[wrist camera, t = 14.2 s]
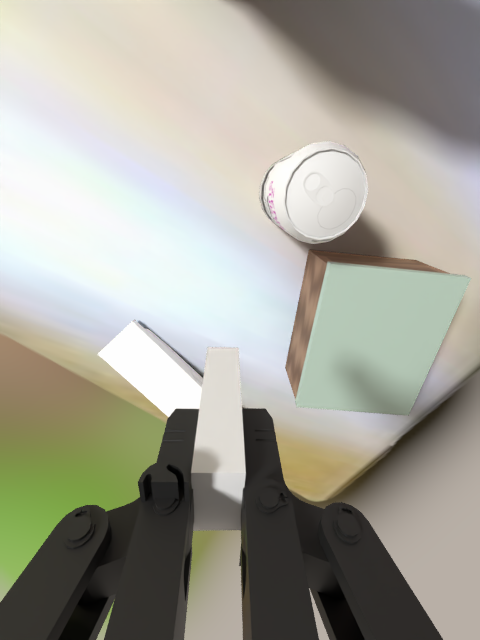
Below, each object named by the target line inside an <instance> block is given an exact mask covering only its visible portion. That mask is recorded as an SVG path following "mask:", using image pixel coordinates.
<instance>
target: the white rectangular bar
mask: <svg viewBox="0 0 480 640" xmlns="http://www.w3.org/2000/svg"><path fill="white" fill-rule="evenodd" d="M98 355H99V356H100V357H102V358H103V359H104V360H105V361H106V362H107V363H108V364H109V365H111V366H112V367H113V368H114V369H115V370H116V371H117V372H118V373H120V374H121V375H122V376H123V377H124V378H125V379H126V380H127V381H129V382H130V383H131V384H132V385H133V386H134V387H135V388H136V389H138V390H139V391H140V392H141V393H142V394H143V395H144V396H145V397H147V398H148V399H149V400H150V401H151V402H152V403H153V404H154V405H156V406H157V407H158V408H159V409H160V410H161V411H162V412H163V413H165V414H166V415H167V416H168V417H169V416H170V415H171V414H172V413H173V411H174V410H175V409H199V407H200V400H201V392H202V384H203V378H202V377H201V376H200V375H199V374H198V373H197V372H196V371H195V370H193V369H192V368H191V367H190V366H189V365H188V364H187V363H186V362H185V361H184V360H183V359H182V358H181V357H180V356H179V355H178V354H177V353H176V352H174V351H173V350H172V349H171V348H170V347H169V346H168V345H167V344H166V343H164V342H163V341H162V340H161V339H160V338H158V337H157V336H156V335H155V334H154V333H153V332H151V331H150V330H149V329H145V328H143V327H142V326H141V325H140V324H139V323H138V322H137V321H136V320H133V321H132V322H131V323H130V324H129V325H128V326H127V327H126V328H125V329H124V330H123V331H122V332H121V333H120V334H118V335H117V336H116V337H115V338H114V339H113V340H112V341H111V342H110V343H109V344H108V345H107V346H106V347H105V348H104V349H103V350H102V351H101V352H99V353H98Z"/></svg>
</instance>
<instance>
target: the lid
mask: <svg viewBox="0 0 480 640" xmlns="http://www.w3.org/2000/svg"><path fill="white" fill-rule="evenodd" d="M470 280H471V278H470V277H467V276H465V275H457V274H447V273H437V272H428V271H418V270H408V269H398V268H388V267H378V266H369V265H359V264H349V263H339V262H329V261H328V262H327V267H326V271H325V275H324V279H323V284H322V288H321V292H320V297H319V301H318V305H317V310H316V314H315V318H314V323H313V327H312V331H311V335H310V340H309V344H308V348H307V353H306V357H305V361H304V366H303V370H302V374H301V379H300V383H299V387H298V391H297V396H296V400H295V402H296V406H297V407H303V408H316V409H329V410H342V411H355V412H368V413H382V414H395V415H408V416H409V414H410V411H411V409H412V407H413V405H414V403H415V400H416V398H417V396H418V394H419V392H420V389H421V387H422V385H423V383H424V381H425V378H426V376H427V374H428V372H429V370H430V367H431V365H432V363H433V361H434V359H435V356H436V354H437V352H438V350H439V348H440V346H441V343H442V341H443V339H444V337H445V335H446V332H447V330H448V328H449V326H450V324H451V321H452V319H453V317H454V315H455V313H456V310H457V308H458V306H459V304H460V302H461V299H462V297H463V295H464V293H465V291H466V288H467V286H468V284H469V282H470Z"/></svg>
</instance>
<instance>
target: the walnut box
mask: <svg viewBox="0 0 480 640" xmlns="http://www.w3.org/2000/svg"><path fill="white" fill-rule="evenodd" d="M328 261H329V262H339V263H349V264H359V265H369V266H378V267H388V268H398V269H408V270H418V271H428V272H437V273H447V272H445V271H442V270H440V269H437V268H434V267H432V266H429V265H427V264H424V263H422V262H419V261H417V260H409V259H398V258H388V257H378V256H367V255H357V254H347V253H336V252H326V251H316V250H309V252H308V257H307V262H306V267H305V272H304V277H303V282H302V287H301V292H300V297H299V302H298V307H297V312H296V317H295V322H294V327H293V332H292V337H291V342H290V347H289V352H288V357H287V362H286V367H285V368H286V371H287V374H288V378H289V381H290V384H291V387H292V390H293V393H294V396H295V399H296V396H297V391H298V387H299V383H300V379H301V374H302V370H303V366H304V361H305V357H306V353H307V348H308V344H309V340H310V335H311V331H312V327H313V323H314V318H315V314H316V310H317V305H318V301H319V297H320V292H321V288H322V284H323V279H324V275H325V271H326V267H327V262H328ZM447 274H450V273H447Z"/></svg>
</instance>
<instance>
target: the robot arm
mask: <svg viewBox="0 0 480 640" xmlns="http://www.w3.org/2000/svg"><path fill="white" fill-rule="evenodd" d="M138 486H139V491H140V498H138V499H137V500H135V501H134V502H132V503H130V504H127V505H125V506H122V507H119V508H116V509H113V510H110V511H107V512H105V510H104V509H103V508H101V507H99V506H97V505H86V506H83V507H79V508H77V509H75V510H73V511H72V512H70V513H69V514H67V515H66V516H65V517H64V518H63V519H62V520H61V521H60V522H59V523H58V524H57V526H56V527H55V528H54V530H53V531H52V532H51V534H50V535H49V536H48V538H47V539H46V541H45V542H44V543H43V545H42V546H41V548H40V549H39V550H38V552H37V553H36V555H35V556H34V557H33V558H32V560H31V562H30V563H29V564H28V565H27V567H26V568H25V570H24V571H23V572H22V574H21V575H20V576H19V578H18V579H17V580H16V582H15V583H14V585H13V586H12V588H11V589H10V590H9V591H8V593H7V594H6V596H5V597H4V598H3V600H2V601H1V602H0V640H96V639H97V636H98V634H99V632H100V630H101V628H102V626H103V623H104V621H105V619H106V617H107V615H108V612H109V610H110V608H111V606H112V604H113V602H114V604H113V608H112V612H111V616H110V619H109V623H108V627H107V630H106V634H105V638H104V640H184V633H185V621H186V612H187V601H188V591H189V581H190V570H191V558H192V536H193V531H197V530H198V531H200V530H241V553H240V565H239V566H241V583H242V584H241V585H242V620H243V640H319V638H318V633H317V628H316V622H315V617H314V612H313V607H312V602H311V597H310V591H309V588H310V590H311V593H312V595H313V598H314V600H315V603H316V606H317V608H318V611H319V613H320V616H321V618H322V621H323V624H324V626H325V629H326V631H327V634H328V637H329V639H330V640H443V639H442V638H441V635H440V634H439V632H438V631H437V629H436V628H435V626H434V624H433V623H432V621H431V620H430V618H429V616H428V615H427V613H426V612H425V610H424V609H423V607H422V605H421V604H420V602H419V601H418V599H417V597H416V596H415V595H414V593H413V591H412V590H411V588H410V587H409V585H408V584H407V582H406V580H405V579H404V577H403V575H402V574H401V572H400V571H399V569H398V567H397V566H396V564H395V563H394V561H393V559H392V558H391V556H390V555H389V553H388V552H387V550H386V548H385V547H384V545H383V544H382V542H381V541H380V539H379V537H378V536H377V534H376V533H375V531H374V530H373V528H372V526H371V525H370V523H369V521H368V520H367V519H366V518H365V517H364V515H363V514H362V513H361V512H360V511H359V510H357V509H356V508H354V507H353V506H351V505H348V504H345V503H342V502H341V503H332V504H330V505H329V506H327V507H326V508H325V509H322V508H319V507H316V506H314V505H310V504H308V503H305V502H303V501H301V500H299V499H298V498H296V497H295V496H294V495H293V494H292V493H291V492H290V491H289V489H288V488H287V486H286V484H285V482H284V478H283V474H282V468H281V463H280V457H279V452H278V446H277V442H276V435H275V432H274V424H273V419H272V417H271V416H270V414H269V413H268V412H267V410H266V409H245V408H242V399H241V382H240V365H239V348H228V347H207V353H206V361H205V369H204V377H203V384H202V392H201V400H200V407H199V409H175V410H174V411H173V413H172V414H171V415H170V416H169V418H168V420H167V424H166V428H165V432H164V435H163V440H162V443H161V447H160V451H159V455H158V459H157V463H155V464H153V465H151V466H150V467H149V468H148V469H147V470H146V471H145V472H143V474H142V475H141V477H140V479H139V481H138ZM114 599H115V601H114Z"/></svg>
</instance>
